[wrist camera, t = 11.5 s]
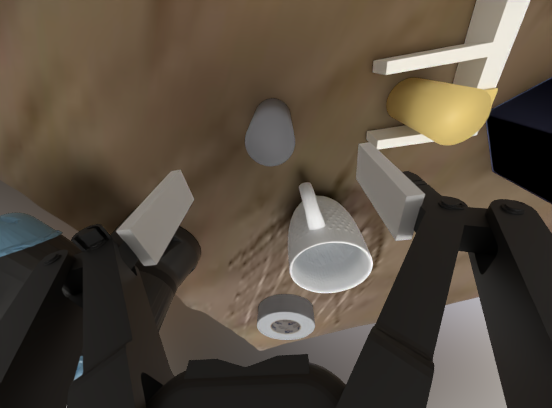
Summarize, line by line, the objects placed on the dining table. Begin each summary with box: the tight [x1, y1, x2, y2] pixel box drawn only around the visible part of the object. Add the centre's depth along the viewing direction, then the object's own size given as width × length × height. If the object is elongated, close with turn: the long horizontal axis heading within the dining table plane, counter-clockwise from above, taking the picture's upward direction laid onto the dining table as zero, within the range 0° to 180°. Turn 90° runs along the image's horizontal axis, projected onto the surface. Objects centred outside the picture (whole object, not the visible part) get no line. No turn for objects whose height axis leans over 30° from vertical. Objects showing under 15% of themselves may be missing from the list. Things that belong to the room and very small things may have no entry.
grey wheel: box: [257, 294, 315, 340], centre depth 57 cm, size 15×15×5 cm
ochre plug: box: [386, 77, 492, 145], centre depth 23 cm, size 5×5×10 cm
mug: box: [288, 182, 373, 293], centre depth 32 cm, size 15×11×13 cm
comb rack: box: [366, 0, 530, 149], centre depth 23 cm, size 12×18×5 cm, turn 9°
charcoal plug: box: [245, 98, 295, 166], centre depth 25 cm, size 5×5×10 cm
